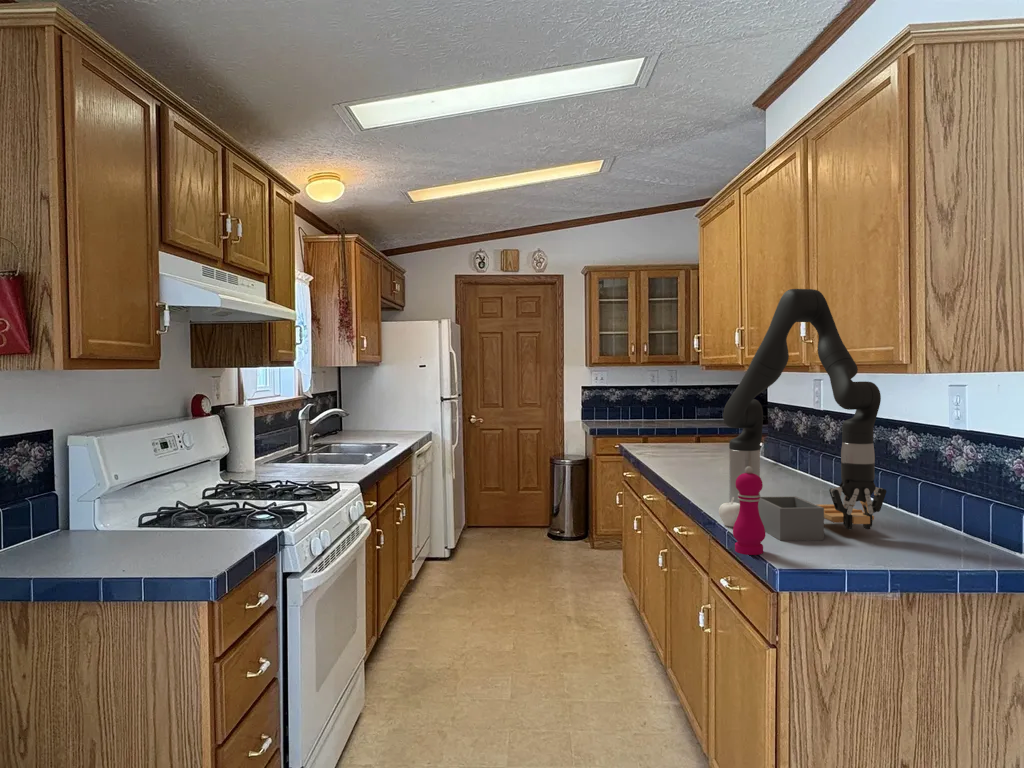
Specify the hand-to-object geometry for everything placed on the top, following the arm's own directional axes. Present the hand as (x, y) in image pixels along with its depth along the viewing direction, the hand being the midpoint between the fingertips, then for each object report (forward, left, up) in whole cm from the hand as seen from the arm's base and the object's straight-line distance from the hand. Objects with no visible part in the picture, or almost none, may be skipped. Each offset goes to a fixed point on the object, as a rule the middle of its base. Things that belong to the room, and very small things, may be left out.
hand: (857, 528), depth 173 cm
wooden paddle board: (-8, 0, +1) cm, 8 cm away
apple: (-15, -27, -3) cm, 31 cm away
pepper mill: (+12, -32, -3) cm, 34 cm away
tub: (-6, -15, -2) cm, 16 cm away
